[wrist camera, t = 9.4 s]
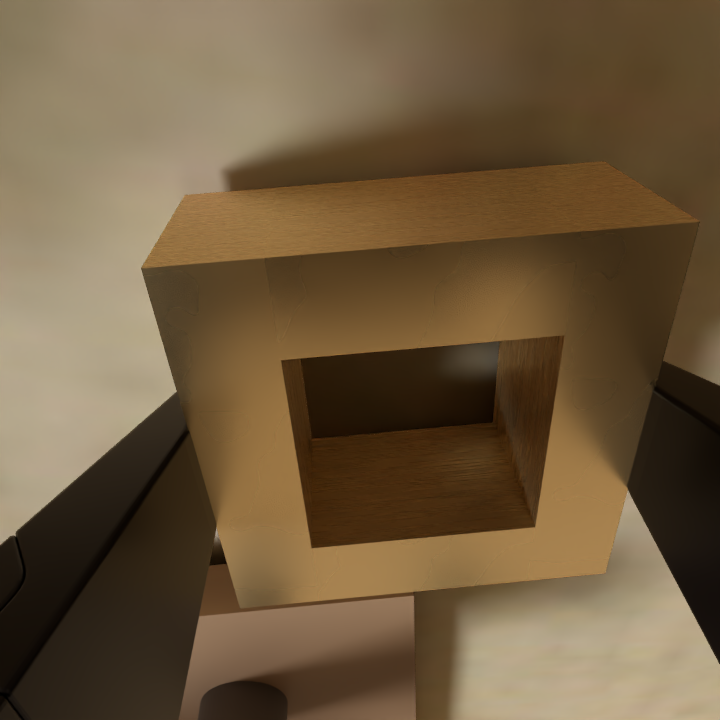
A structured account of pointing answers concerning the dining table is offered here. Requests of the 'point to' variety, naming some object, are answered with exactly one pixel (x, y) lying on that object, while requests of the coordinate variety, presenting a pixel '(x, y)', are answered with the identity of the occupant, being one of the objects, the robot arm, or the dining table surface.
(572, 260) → the frame
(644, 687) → the dining table surface
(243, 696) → the shaft stand
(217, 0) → the dining table surface
